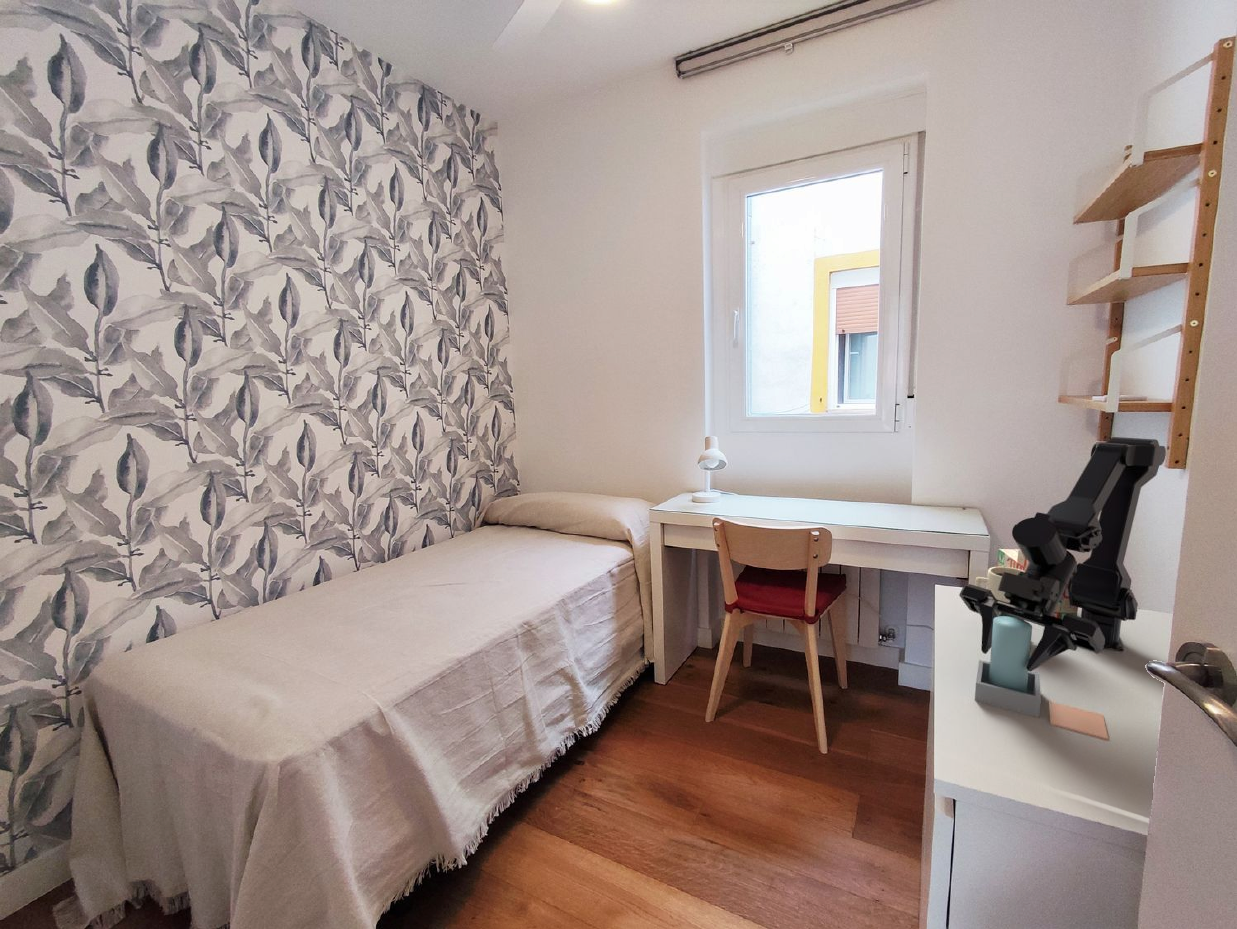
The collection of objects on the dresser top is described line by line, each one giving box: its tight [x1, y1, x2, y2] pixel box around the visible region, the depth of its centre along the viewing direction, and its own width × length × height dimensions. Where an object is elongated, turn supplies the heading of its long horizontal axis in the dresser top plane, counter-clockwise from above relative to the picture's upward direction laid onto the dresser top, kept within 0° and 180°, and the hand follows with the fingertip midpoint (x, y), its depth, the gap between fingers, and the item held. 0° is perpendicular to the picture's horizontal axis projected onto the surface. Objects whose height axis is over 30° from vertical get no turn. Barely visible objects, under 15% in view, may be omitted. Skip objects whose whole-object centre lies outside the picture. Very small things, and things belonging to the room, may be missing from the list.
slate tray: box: [974, 659, 1042, 718], centre depth 87 cm, size 8×8×3 cm
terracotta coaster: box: [1048, 700, 1109, 741], centre depth 81 cm, size 6×6×1 cm
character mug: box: [974, 566, 1025, 620], centre depth 106 cm, size 11×7×13 cm, turn 55°
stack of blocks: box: [997, 548, 1079, 619], centre depth 119 cm, size 21×6×12 cm, turn 167°
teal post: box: [989, 616, 1033, 693], centre depth 86 cm, size 5×5×12 cm
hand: (1005, 660), depth 86 cm, fingers open, 6 cm apart
